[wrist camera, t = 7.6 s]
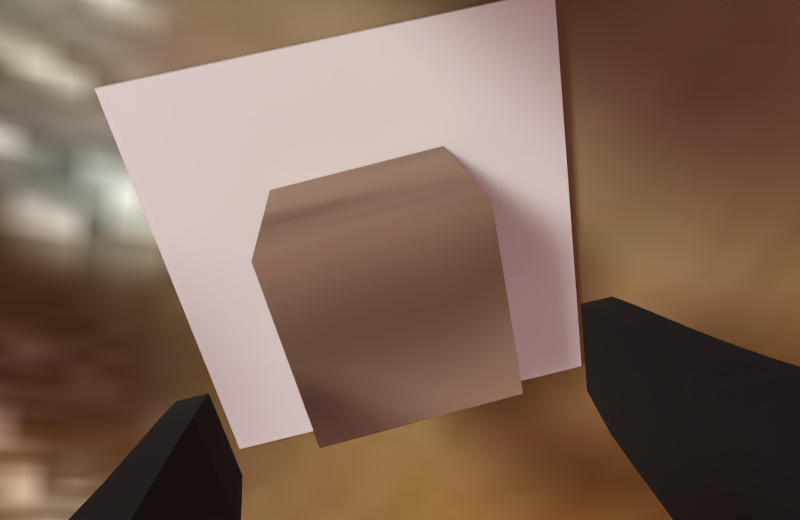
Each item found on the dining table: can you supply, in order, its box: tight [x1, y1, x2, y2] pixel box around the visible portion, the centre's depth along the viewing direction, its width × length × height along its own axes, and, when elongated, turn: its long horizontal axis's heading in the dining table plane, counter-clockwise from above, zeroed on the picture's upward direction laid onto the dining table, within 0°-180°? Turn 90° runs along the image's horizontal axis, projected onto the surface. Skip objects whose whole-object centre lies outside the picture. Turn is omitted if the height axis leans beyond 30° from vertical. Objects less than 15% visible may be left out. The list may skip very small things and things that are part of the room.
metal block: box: [251, 146, 523, 448], centre depth 15 cm, size 5×5×5 cm
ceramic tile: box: [95, 0, 582, 449], centre depth 18 cm, size 12×12×1 cm
